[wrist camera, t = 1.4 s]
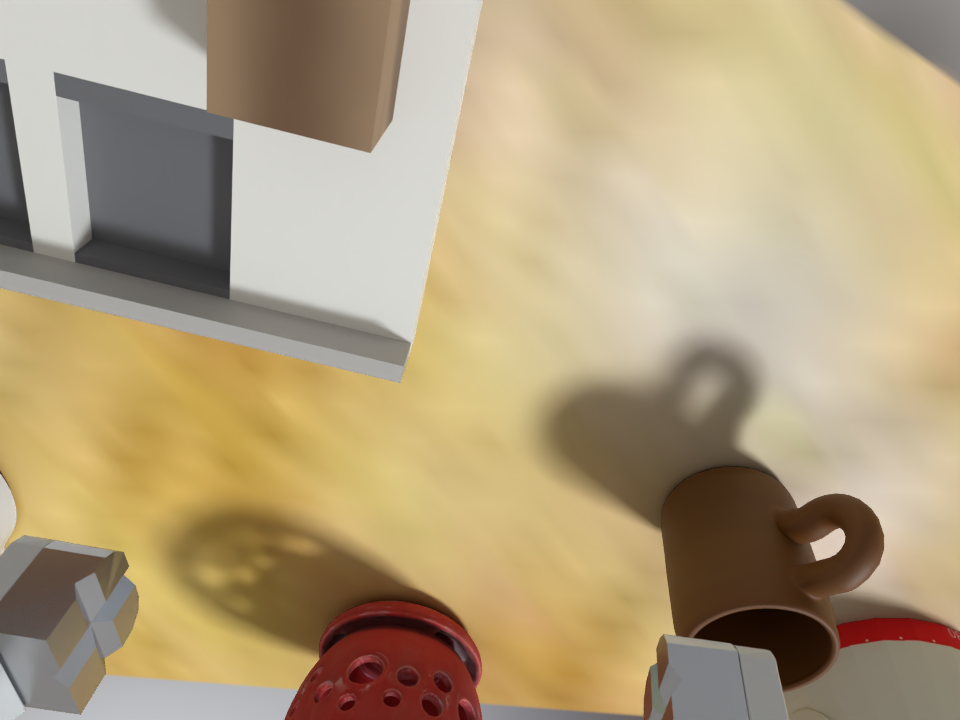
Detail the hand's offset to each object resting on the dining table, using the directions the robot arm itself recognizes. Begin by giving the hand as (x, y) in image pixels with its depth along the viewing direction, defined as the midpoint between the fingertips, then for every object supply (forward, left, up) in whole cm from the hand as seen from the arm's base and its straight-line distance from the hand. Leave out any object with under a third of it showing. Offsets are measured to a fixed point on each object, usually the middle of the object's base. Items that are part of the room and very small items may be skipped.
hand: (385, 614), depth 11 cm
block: (-5, +6, -23) cm, 24 cm away
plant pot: (-17, -34, -25) cm, 45 cm away
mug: (+8, -24, -25) cm, 35 cm away
